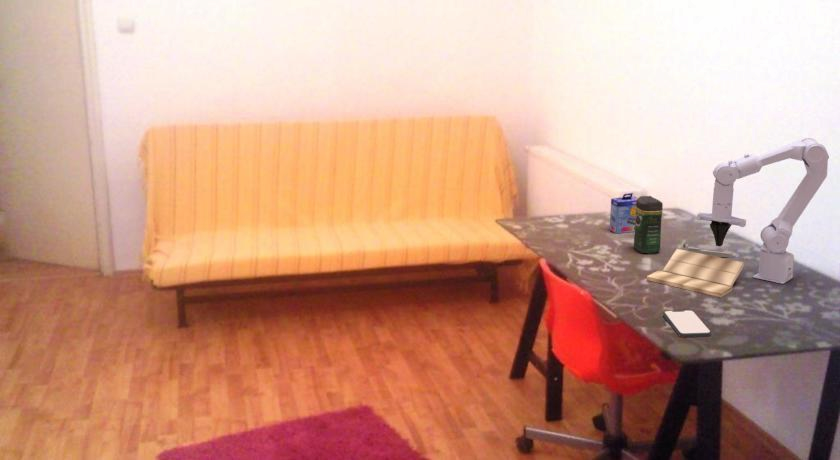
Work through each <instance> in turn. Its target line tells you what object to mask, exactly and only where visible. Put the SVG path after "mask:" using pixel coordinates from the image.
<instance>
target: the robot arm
mask: <svg viewBox="0 0 840 460" xmlns="http://www.w3.org/2000/svg"><path fill="white" fill-rule="evenodd" d="M829 158H830V156H829V153H828V151H827V148H826V147H825V146H824V145H823V144H822V143H820V142H818V141H817V140H816V139H815V138H811V137H806V138H802V139H801V140H800V139H799V140H795V141H792V142H790V143H788V144H786V145H783V146H781V147H778V148H776V149H773V150H771V151H769V152H765V153H763V154H760V155H756V154H754V153H752V154H749V153H746V154H743V157H739V158H737V159H735V160H732V159H730V160H728V163H726V162H721V163H719V164H717V165H716V166H715V168H714V170H712V174H713V177H714V183H713V185H714V186H713V194H712V195H713V196H712V206H711V207H712V208H711V213H708V212H707V213H706V212H705V213H704V212H698V213H697V214H696V215H697V216H696V221H705V222H706V221H707V222H710V224H709V227H710V230H711V231H712V234H713V236H714V241H715V247H721V246H723V245H724V241H725V238H726V235H727V234H728V232H729V230H730V228H731V227H732V226H738V227H741V228H744V227H746V225H747V219H744V218H739V217H736V216H732V213H733V200H734V183H735V182H736V180H739V179H742V178H745V177H748V176H751V175H755V174H757V173H759V172H760V171H761V169H762V168H763V167H765V166H769V165H771V164H776V163H778V162H781V161H786V160H789V159H792V160H796V161H800V162H803V165H804V167H805V169H806V170H805V171H806V174H805V175H804V177H803V178H802V180H801V182H800V183H799V184H798V186H797V188H796V189H795V190H794V192H793V193H792V195H791V196H790V198H789V199H788V201H787V202H786V204H785V206H784V207H783V208H782V210H781V211H780V213H778V216H777V217H775V218H774V219H772V220H771V222H770V223H768V225H766V226H764V228H762V230H761V231H760V239H761V241H762V242H763V243H762V245H761V246H760V250H759V251H760V252H759V263H758V272H757V273H756V274H754V275H753V276H752V277H753V278H755V279H759V280H764V281H768V282H772V283H778V284H785V283H786V282H788V281H790V280H791V279H793V278H794V275H793V272H794V262H795V256H794V253H791V252H789V251H787V248H788V246H789V242H790V241H789V240H790V238H791V236H792V235H793V229H794V226H795V224H796V223H797V222H798V220H799V218H800V217H801V215H802V214H803V213H804V211H805V209H806V208H807V206H808V205H809V204H810V202H811V200H812V199H813V198H814V197H815V195H816V193H817V192H818V191H819V189H820V187H821V186H822V184H823V183H824V182H825V180H826V178H827V176H828V164H829V163H828V162H829Z"/></svg>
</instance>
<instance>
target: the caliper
mask: <svg viewBox="0 0 840 460" xmlns="http://www.w3.org/2000/svg"><path fill="white" fill-rule="evenodd" d="M679 249H681V250H685V251H690V252H695V253H700V254H705V255H710V256H715V257H719V258H726V259H729V258H733V257H734V258H735V257H736V254H733V253H731V252H723V251H715V250H707V249H706V250H705V249H701V248H699V247H698V248H697V247H690V246H689V244H688V243H686V244H685V243H683V244H682V246H680V248H679ZM736 258H737V257H736Z"/></svg>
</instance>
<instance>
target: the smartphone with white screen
mask: <svg viewBox="0 0 840 460" xmlns="http://www.w3.org/2000/svg"><path fill="white" fill-rule="evenodd" d="M662 313H663V314H662V315H663V316H664V317H663V318H664V319H665V321H666V320H667V321H668V322H667V324H669V326H670V325H671V326H672V327H671V326H670V327H671V329H672V330H673V331H674V330H675V331H676V332H675V331H674V332H675V333H676V335H680V336H683V337H682V338H709V336H710V337H711V336H712V330H710V328H709V327H708V326H707V324H705V323H704V321H703V320H702V319H701V318H700V317H699V315H697V314H696V312H695V311H694V310H690V309H688V310H687V309H686V310H665V311H663V312H662ZM680 336H679V337H680ZM694 336H695V337H694ZM699 336H701V337H699Z"/></svg>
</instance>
